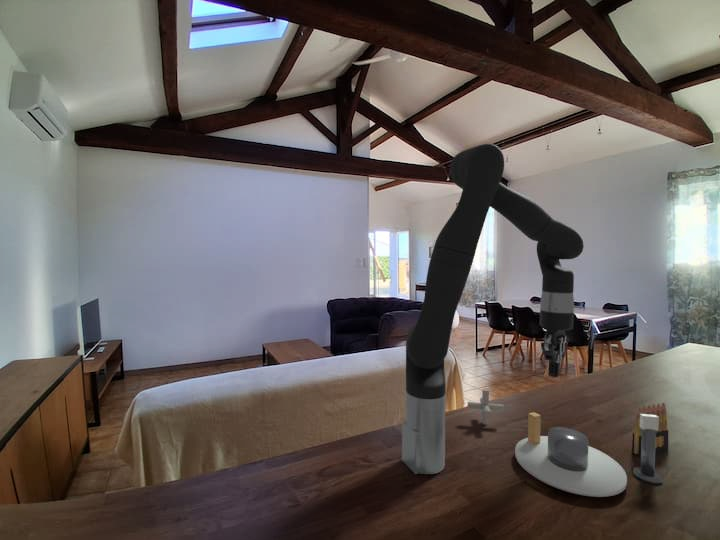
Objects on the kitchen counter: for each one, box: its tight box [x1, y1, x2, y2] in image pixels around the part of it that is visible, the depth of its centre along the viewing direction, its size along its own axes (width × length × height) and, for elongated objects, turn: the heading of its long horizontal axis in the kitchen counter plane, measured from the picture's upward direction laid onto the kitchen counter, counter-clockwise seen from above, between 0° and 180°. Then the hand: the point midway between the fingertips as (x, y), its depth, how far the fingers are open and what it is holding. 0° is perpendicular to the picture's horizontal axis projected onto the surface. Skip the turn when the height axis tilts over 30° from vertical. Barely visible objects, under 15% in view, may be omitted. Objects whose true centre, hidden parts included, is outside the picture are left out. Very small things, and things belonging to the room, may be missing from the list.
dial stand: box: [632, 414, 663, 485], centre depth 78 cm, size 5×5×14 cm
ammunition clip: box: [631, 402, 669, 457], centre depth 88 cm, size 11×2×12 cm, turn 108°
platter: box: [514, 411, 628, 498], centre depth 80 cm, size 22×22×8 cm
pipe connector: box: [467, 388, 505, 426], centre depth 103 cm, size 10×10×10 cm
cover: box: [547, 426, 590, 472], centre depth 80 cm, size 8×8×6 cm
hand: (554, 375), depth 90 cm, fingers closed
